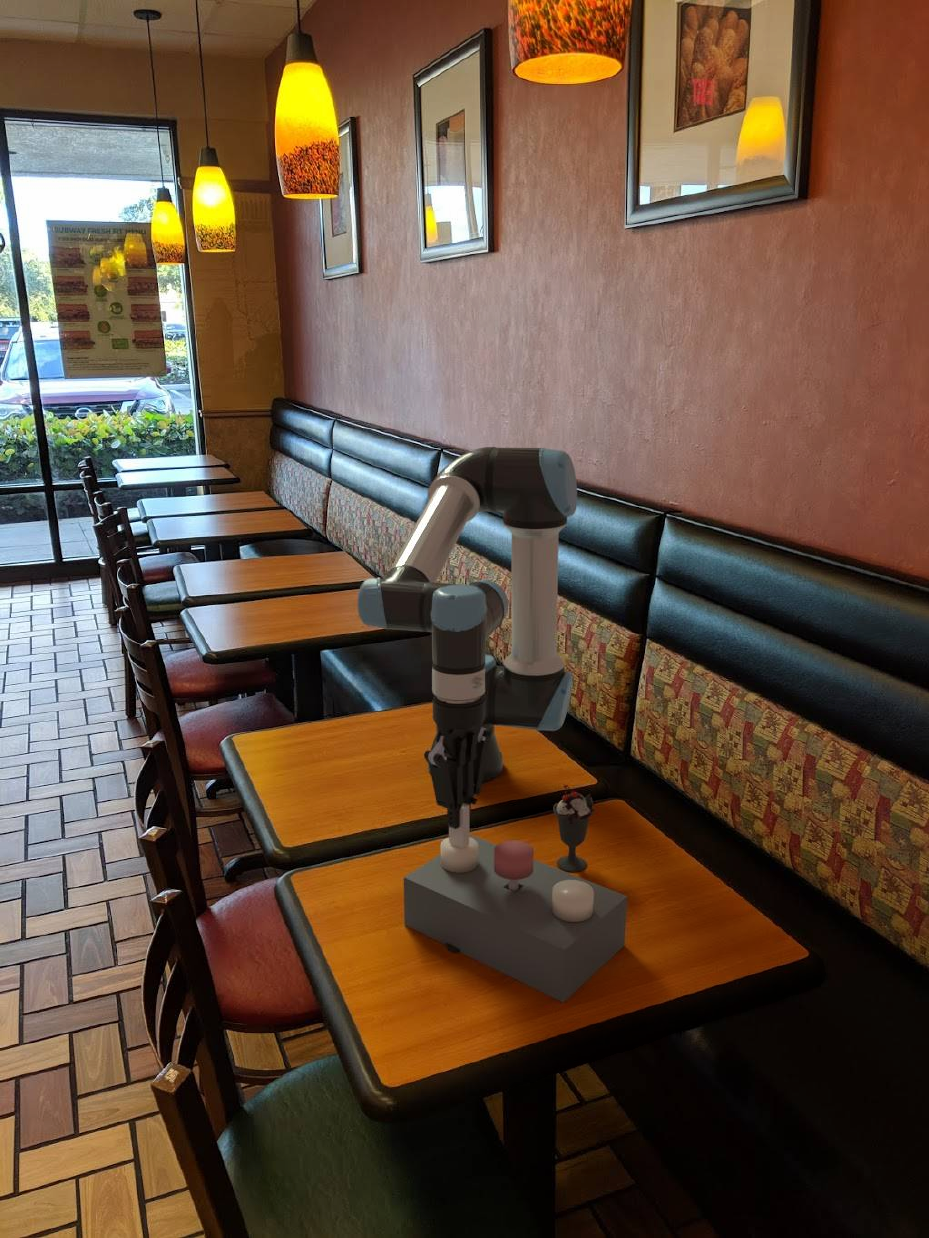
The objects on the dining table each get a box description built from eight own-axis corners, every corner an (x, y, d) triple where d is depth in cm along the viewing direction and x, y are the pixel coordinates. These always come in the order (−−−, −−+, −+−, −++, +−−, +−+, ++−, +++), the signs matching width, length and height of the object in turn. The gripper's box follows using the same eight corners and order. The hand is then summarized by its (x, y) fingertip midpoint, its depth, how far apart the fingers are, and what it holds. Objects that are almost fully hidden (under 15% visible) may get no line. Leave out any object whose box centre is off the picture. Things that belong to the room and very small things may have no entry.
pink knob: (509, 883, 144) (509, 836, 141) (540, 897, 140) (541, 848, 138) (486, 900, 139) (486, 851, 137) (517, 914, 136) (518, 864, 134)
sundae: (546, 870, 158) (549, 787, 154) (557, 851, 164) (559, 770, 160) (586, 878, 156) (589, 793, 152) (595, 858, 162) (599, 776, 158)
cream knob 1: (456, 877, 150) (456, 831, 148) (485, 889, 147) (485, 843, 145) (433, 892, 146) (432, 846, 144) (462, 905, 143) (462, 858, 141)
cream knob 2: (565, 923, 138) (567, 875, 136) (599, 938, 135) (601, 889, 133) (543, 942, 134) (544, 892, 132) (577, 957, 131) (579, 907, 128)
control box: (471, 879, 156) (471, 834, 154) (624, 945, 139) (627, 896, 137) (404, 924, 144) (403, 877, 142) (563, 1002, 127) (564, 949, 125)
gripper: (450, 714, 130) (450, 870, 137) (507, 688, 140) (505, 834, 147) (408, 701, 135) (411, 853, 142) (467, 677, 145) (466, 820, 151)
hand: (459, 843), depth 144 cm, fingers closed
